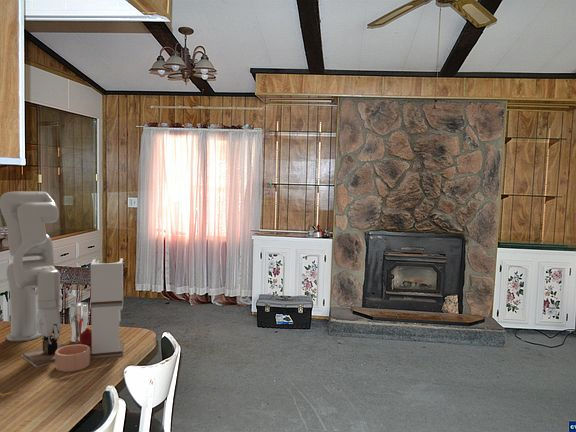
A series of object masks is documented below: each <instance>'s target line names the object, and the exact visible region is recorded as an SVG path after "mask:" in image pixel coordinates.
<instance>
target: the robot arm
mask: <svg viewBox="0 0 576 432" xmlns="http://www.w3.org/2000/svg"><path fill="white" fill-rule="evenodd" d="M0 212H1V215H2V217H3V219H4V221H5V224H6V230H7V242H8V244H7V245H8V250H9V255H10V256H11V257H12V258H13V259H12V262H11V263H10V264H8V266H7V268H6V276H7V277H6V278H7V282H8V287H9V289H8V291H9V302H10V303H9V304H10V305H9V310H10V333H9V334H7V336H6V340H8V341H9V342H25V341H26V342H27V341H30V340H34V339H35V340H36V339H38V338H40V337H41V338H42V348H43V351H44V341H46V340H48V341H49V344H48V355H52V354H55V352H56V350H57V349H58V347H57V345H58V342H59V341H58V339H60V336H59V335H60V333H61V315H60V308H61V273H60V271H59V270H58V269H56V267H55V259H54V258H55V257H54V246H53V241H52V238H51V236H50V235H48V234H47V231H46V225H45V224H52V223H53V224H54V223H56V222H58V220H59V218H60V212H59V207H58V206H57V203H56V202H55V200H54V199H53V198H52V197H51V195H50V194H49V193H48V192H47V191H34V190H33V191H32V190H31V191H28V190H27V191H26V190H25V191H23V190H22V191H21V190H19V191H7V192H4V193H3V194H2V195H1V196H0ZM30 257H32V258H33V257H39V258H38V259H27V260H24V259H23V258H30ZM34 288H36V289H37V291H35V290H34Z"/></svg>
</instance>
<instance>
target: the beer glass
mask: <svg viewBox="0 0 576 432" xmlns="http://www.w3.org/2000/svg"><path fill="white" fill-rule="evenodd" d="M88 321H89V305H88V302H85V301H84V302H82V301H79V302H74V303H71V304H70V305H69V322H70V323H69V324H70V328H71V340H70V341H71V342H72V343H81V342H80V335H81V334H82V332H83V331H85V330H86V327H88V323H89V322H88Z"/></svg>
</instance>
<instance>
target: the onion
mask: <svg viewBox="0 0 576 432" xmlns="http://www.w3.org/2000/svg"><path fill="white" fill-rule="evenodd" d="M79 343H80V344H81V345H87V346H89V347H90V348H91V347H92V329H90V328H89V327H88V326H87V327H86V330H85V331H83V332H82V334H81V335H80V342H79Z"/></svg>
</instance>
